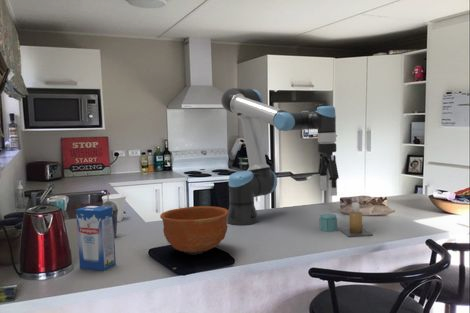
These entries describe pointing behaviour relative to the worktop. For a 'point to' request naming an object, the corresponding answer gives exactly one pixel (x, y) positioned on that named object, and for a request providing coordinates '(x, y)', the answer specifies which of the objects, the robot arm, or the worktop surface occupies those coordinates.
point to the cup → (117, 203)
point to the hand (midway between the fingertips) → (328, 192)
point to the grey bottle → (115, 212)
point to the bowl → (195, 227)
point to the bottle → (355, 223)
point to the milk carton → (96, 237)
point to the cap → (328, 222)
